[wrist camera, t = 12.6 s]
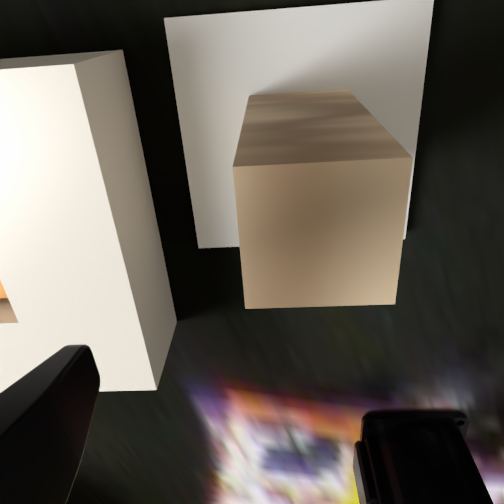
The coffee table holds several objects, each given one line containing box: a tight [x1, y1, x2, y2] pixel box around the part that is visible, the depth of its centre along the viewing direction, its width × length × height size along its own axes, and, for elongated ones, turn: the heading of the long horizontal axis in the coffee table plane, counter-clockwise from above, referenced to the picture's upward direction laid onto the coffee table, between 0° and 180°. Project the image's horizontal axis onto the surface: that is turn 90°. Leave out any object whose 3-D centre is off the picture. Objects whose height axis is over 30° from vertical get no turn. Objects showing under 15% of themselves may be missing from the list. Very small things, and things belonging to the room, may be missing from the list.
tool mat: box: [164, 0, 434, 248], centre depth 19 cm, size 10×10×1 cm
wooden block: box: [233, 90, 413, 309], centre depth 14 cm, size 4×4×9 cm
